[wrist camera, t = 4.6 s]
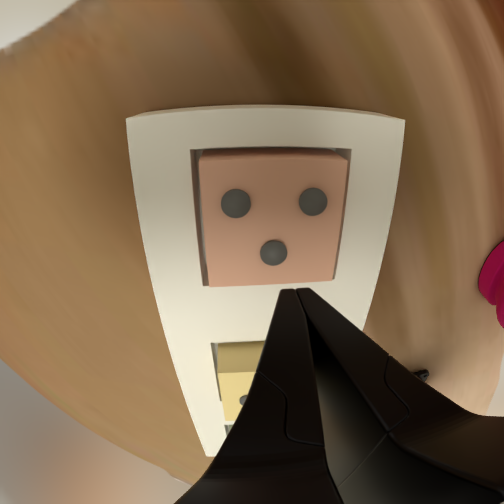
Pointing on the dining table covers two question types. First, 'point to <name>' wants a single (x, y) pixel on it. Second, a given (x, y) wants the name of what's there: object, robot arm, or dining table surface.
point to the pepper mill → (494, 281)
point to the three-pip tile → (271, 214)
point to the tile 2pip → (236, 374)
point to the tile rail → (192, 232)
